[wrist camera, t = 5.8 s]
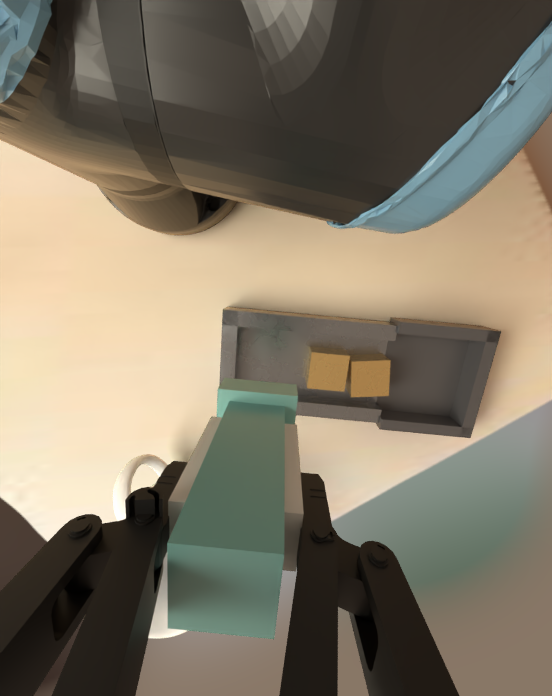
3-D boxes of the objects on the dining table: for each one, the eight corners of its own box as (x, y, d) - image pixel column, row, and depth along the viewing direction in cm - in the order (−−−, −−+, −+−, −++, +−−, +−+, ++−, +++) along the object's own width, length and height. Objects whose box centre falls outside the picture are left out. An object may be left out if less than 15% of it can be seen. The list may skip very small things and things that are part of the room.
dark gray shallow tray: (227, 306, 32) (222, 309, 30) (389, 321, 32) (398, 326, 30) (223, 398, 35) (218, 407, 33) (372, 412, 35) (379, 422, 33)
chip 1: (309, 346, 33) (311, 352, 30) (345, 349, 33) (350, 356, 30) (305, 379, 34) (307, 388, 31) (340, 383, 34) (344, 391, 31)
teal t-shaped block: (224, 377, 20) (141, 519, 9) (296, 384, 20) (312, 536, 8) (221, 441, 21) (145, 642, 10) (289, 448, 21) (294, 657, 10)
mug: (118, 448, 37) (33, 538, 25) (192, 414, 36) (141, 491, 23) (179, 534, 40) (130, 653, 28) (249, 506, 39) (231, 618, 26)
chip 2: (346, 355, 33) (351, 361, 30) (382, 353, 33) (390, 360, 30) (346, 388, 34) (350, 397, 31) (381, 387, 34) (388, 396, 31)
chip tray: (390, 317, 32) (401, 321, 29) (481, 326, 32) (501, 331, 29) (371, 416, 35) (379, 429, 32) (454, 424, 35) (470, 438, 32)
